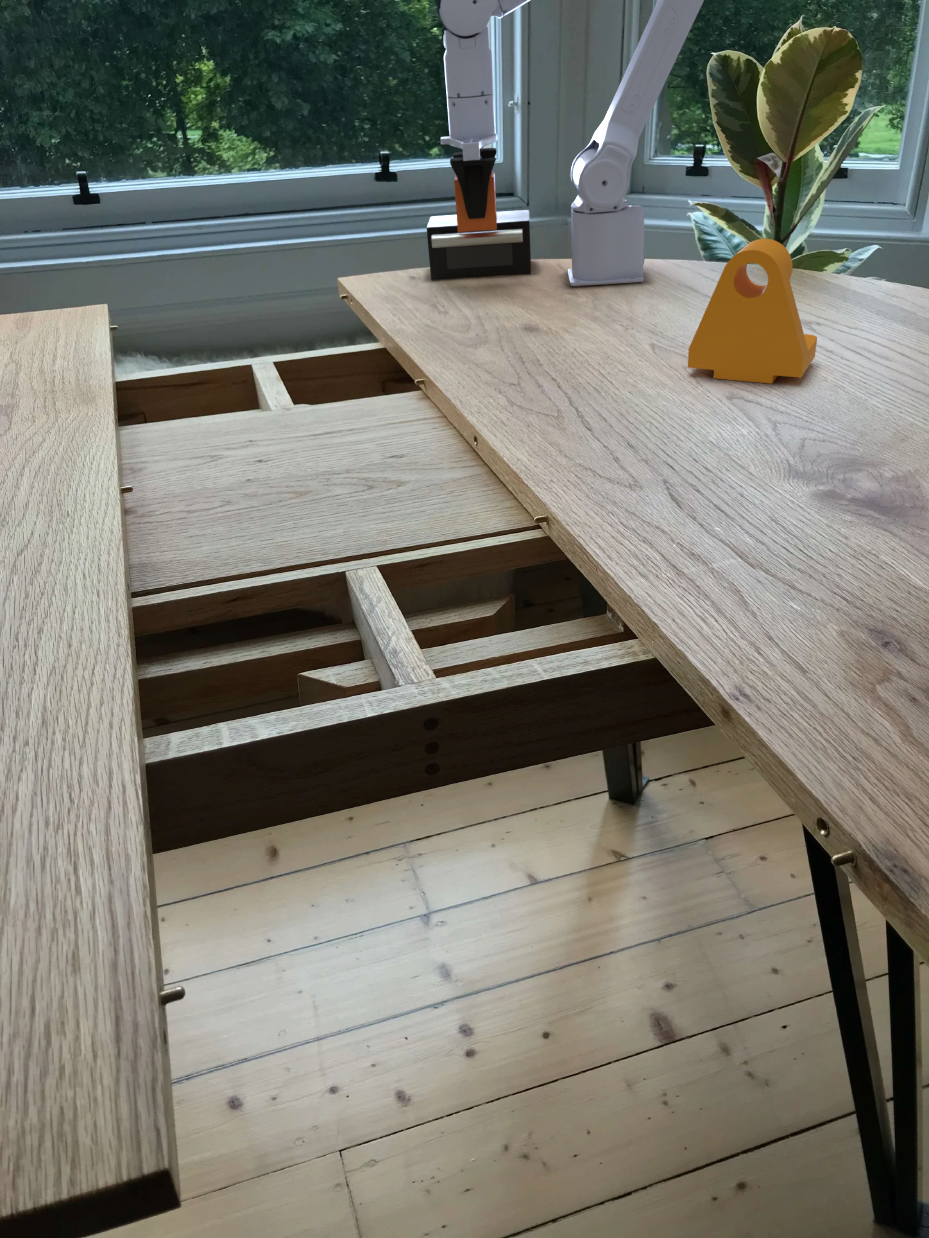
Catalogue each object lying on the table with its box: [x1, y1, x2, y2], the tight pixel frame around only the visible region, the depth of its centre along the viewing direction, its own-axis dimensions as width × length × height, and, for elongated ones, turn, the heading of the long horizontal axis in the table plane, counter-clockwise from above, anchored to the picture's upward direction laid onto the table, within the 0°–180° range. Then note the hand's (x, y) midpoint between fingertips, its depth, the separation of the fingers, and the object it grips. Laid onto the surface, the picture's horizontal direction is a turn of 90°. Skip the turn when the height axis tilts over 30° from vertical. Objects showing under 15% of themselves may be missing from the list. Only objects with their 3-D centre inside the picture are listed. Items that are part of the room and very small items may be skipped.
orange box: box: [453, 171, 498, 232], centre depth 125 cm, size 5×4×6 cm
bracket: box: [687, 238, 818, 385], centre depth 93 cm, size 11×7×12 cm, turn 62°
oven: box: [426, 209, 532, 281], centre depth 135 cm, size 14×13×7 cm
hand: (477, 214), depth 126 cm, fingers closed on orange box, 4 cm apart
